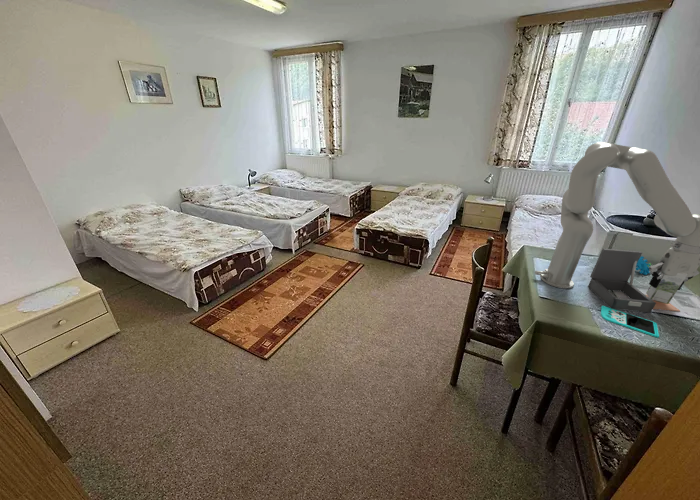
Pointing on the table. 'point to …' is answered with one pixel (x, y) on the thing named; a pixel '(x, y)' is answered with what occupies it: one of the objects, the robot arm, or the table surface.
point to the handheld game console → (630, 321)
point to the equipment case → (619, 280)
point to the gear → (643, 266)
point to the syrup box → (666, 288)
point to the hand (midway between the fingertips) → (663, 286)
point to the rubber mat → (665, 306)
